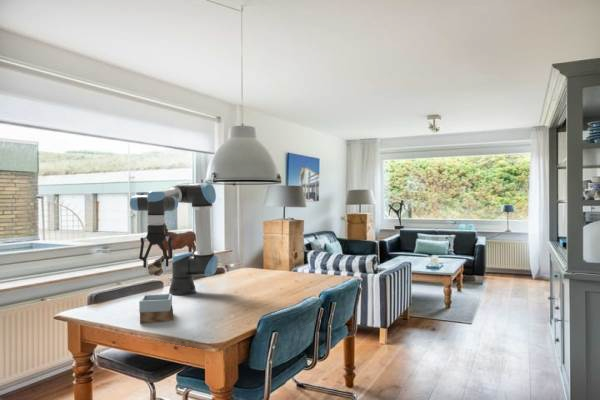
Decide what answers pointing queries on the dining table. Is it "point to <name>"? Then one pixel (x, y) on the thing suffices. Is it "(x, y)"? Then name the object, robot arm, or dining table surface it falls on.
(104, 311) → the dining table surface
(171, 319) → the tower base
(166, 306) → the tower top
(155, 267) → the rock
